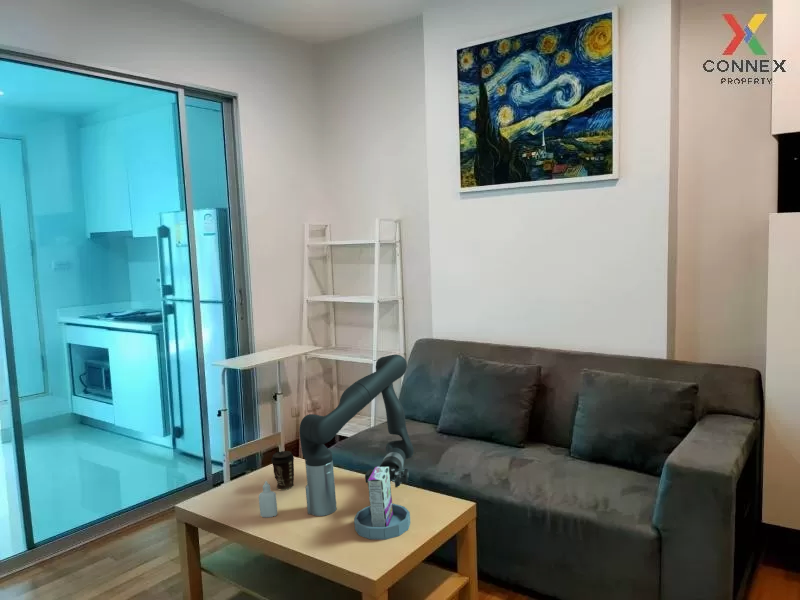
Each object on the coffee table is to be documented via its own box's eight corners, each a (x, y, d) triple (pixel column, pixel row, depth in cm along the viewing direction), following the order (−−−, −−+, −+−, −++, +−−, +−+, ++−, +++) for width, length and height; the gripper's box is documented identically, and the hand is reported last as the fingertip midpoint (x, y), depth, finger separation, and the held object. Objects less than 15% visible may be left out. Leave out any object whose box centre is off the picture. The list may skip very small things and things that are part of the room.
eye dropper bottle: (267, 511, 203) (264, 477, 202) (279, 514, 200) (276, 480, 199) (258, 516, 200) (255, 482, 198) (270, 519, 197) (267, 485, 196)
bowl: (350, 539, 179) (349, 528, 179) (362, 513, 196) (361, 503, 196) (405, 539, 176) (404, 528, 176) (413, 513, 193) (412, 503, 193)
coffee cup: (278, 482, 229) (275, 450, 228) (299, 481, 228) (296, 449, 227) (270, 491, 220) (267, 458, 219) (292, 491, 219) (289, 457, 218)
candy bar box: (378, 514, 192) (374, 466, 191) (393, 514, 192) (389, 466, 190) (370, 530, 182) (367, 479, 180) (386, 531, 181) (382, 479, 179)
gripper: (371, 455, 207) (361, 473, 191) (411, 455, 205) (403, 473, 189) (372, 476, 208) (362, 495, 192) (412, 476, 205) (405, 495, 190)
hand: (383, 484), depth 190 cm, fingers open, 8 cm apart
